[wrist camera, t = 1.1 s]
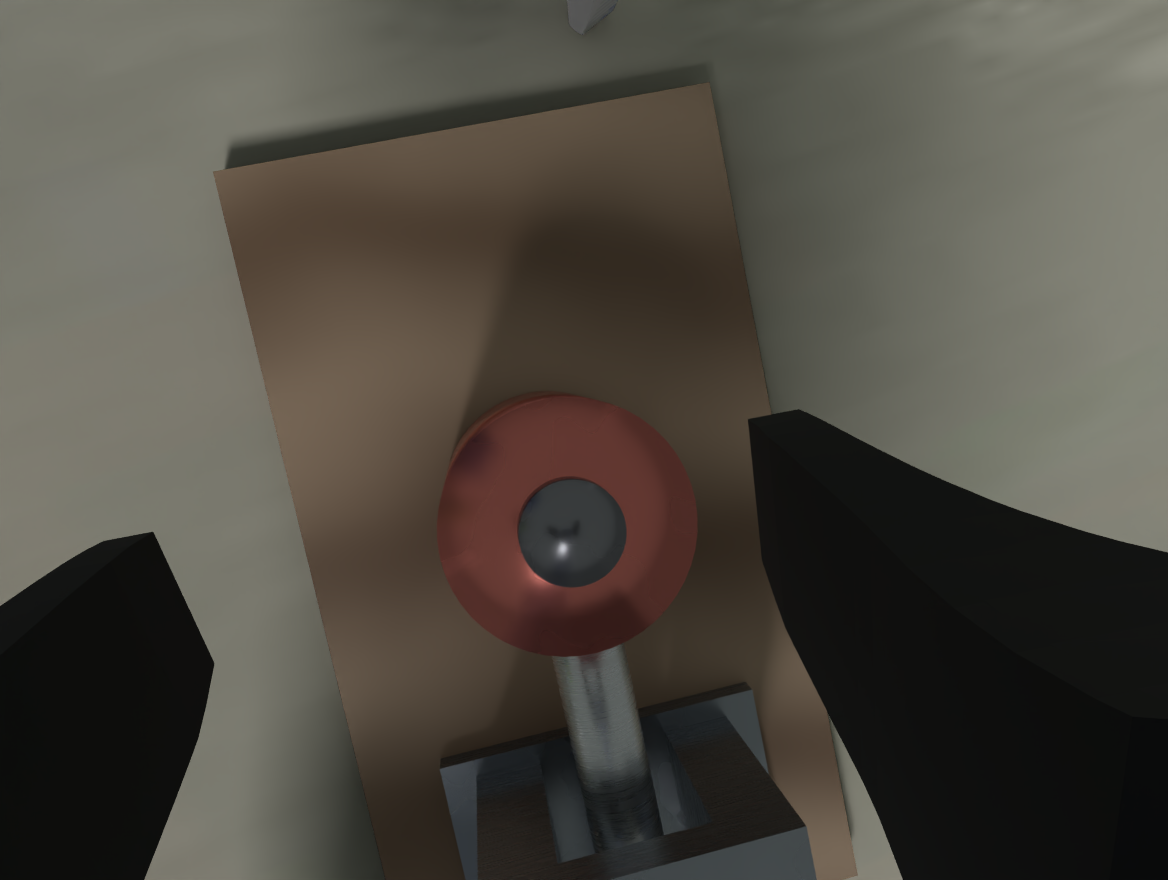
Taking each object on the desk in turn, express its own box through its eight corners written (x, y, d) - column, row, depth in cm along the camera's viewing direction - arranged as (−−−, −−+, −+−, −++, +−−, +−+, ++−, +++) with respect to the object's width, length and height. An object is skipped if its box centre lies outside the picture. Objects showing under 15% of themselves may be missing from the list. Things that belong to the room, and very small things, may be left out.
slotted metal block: (773, 825, 24) (876, 981, 18) (474, 905, 23) (476, 1099, 17) (745, 681, 24) (841, 791, 17) (440, 758, 23) (429, 902, 17)
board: (845, 859, 25) (857, 875, 24) (416, 978, 24) (414, 999, 23) (701, 92, 23) (709, 81, 22) (222, 178, 22) (212, 171, 21)
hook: (736, 916, 24) (816, 1084, 18) (549, 969, 23) (574, 1157, 18) (626, 371, 22) (677, 373, 17) (423, 414, 22) (407, 430, 16)
